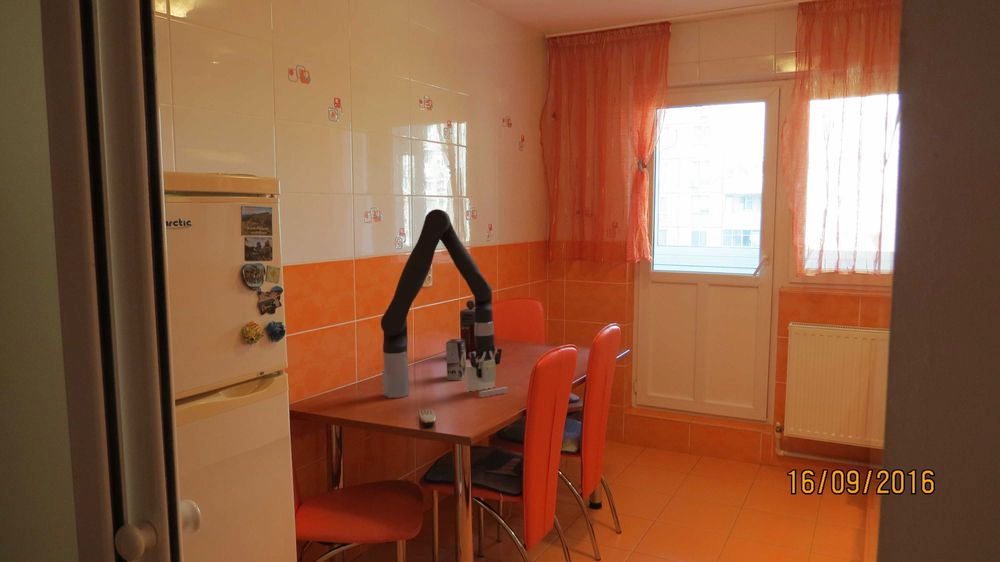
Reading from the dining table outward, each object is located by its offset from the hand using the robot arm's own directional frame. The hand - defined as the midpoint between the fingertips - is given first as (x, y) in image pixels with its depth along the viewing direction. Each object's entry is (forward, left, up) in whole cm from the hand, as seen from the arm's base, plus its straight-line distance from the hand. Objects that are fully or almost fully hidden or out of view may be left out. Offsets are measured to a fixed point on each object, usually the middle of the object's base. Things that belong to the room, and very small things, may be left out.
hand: (486, 376), depth 271 cm
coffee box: (+2, +29, -6) cm, 30 cm away
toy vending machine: (+28, +64, -6) cm, 70 cm away
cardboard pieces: (0, 0, -6) cm, 6 cm away
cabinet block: (0, 0, -1) cm, 1 cm away
